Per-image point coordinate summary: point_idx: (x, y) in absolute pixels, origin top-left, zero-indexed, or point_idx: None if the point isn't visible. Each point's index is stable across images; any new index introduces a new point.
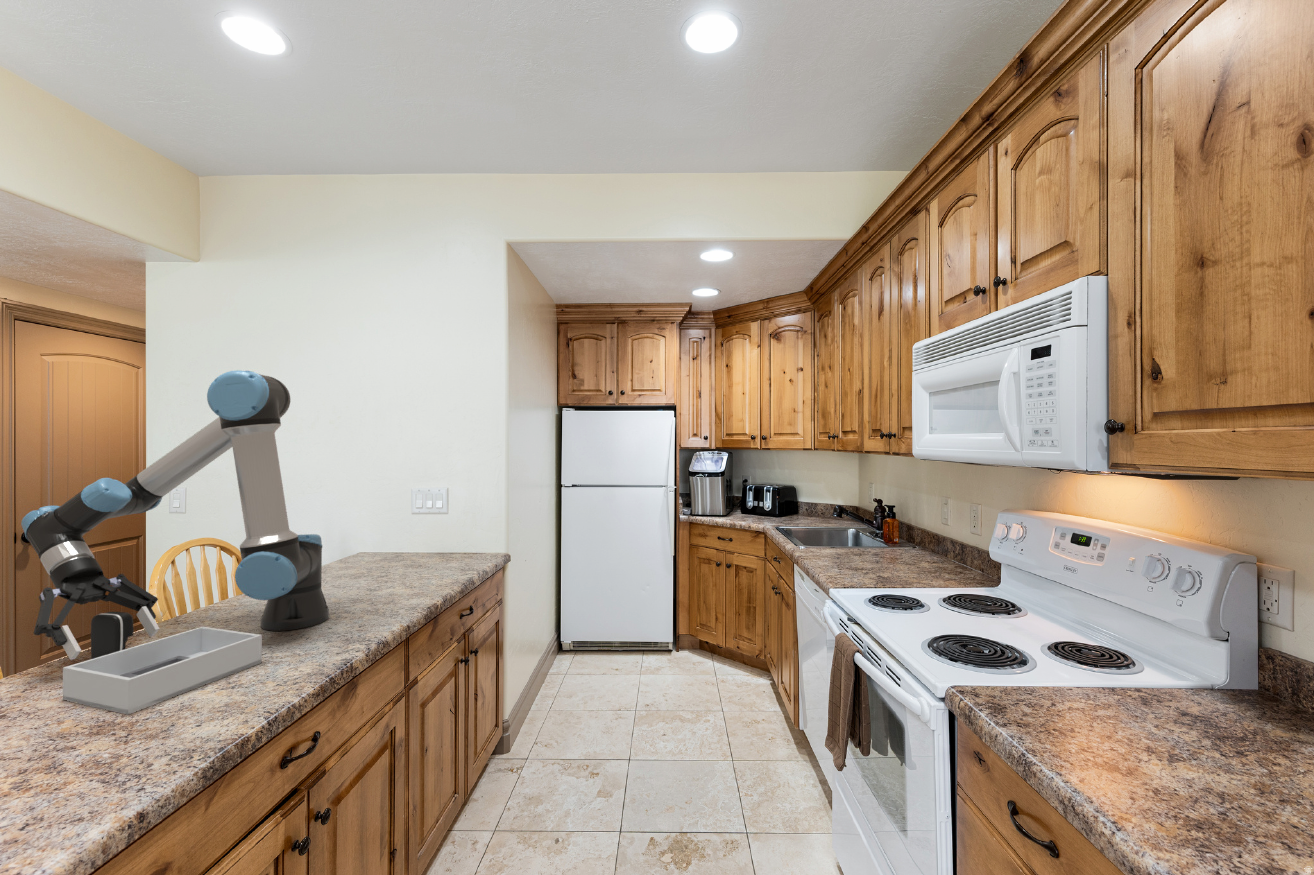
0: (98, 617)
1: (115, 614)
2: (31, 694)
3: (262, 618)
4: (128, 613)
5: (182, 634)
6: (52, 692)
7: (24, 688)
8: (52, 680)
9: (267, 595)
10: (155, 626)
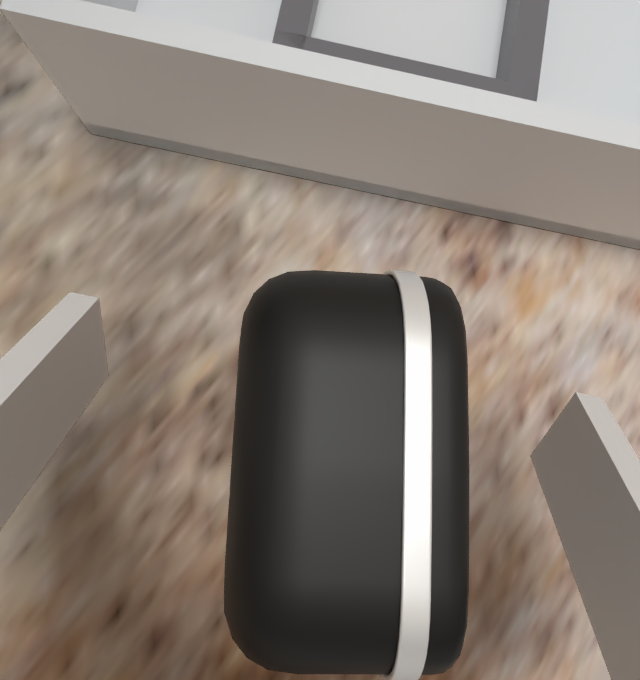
0: (466, 555)
1: (412, 352)
2: None
3: None
4: (277, 308)
5: (171, 24)
6: (602, 386)
7: None
8: (502, 551)
9: None
10: (73, 310)
